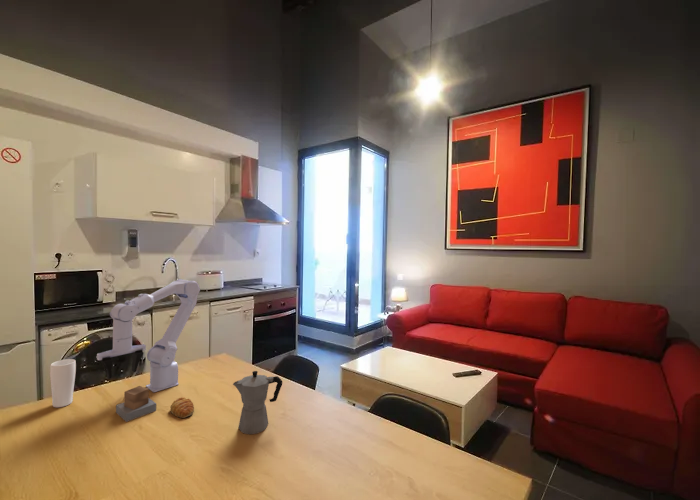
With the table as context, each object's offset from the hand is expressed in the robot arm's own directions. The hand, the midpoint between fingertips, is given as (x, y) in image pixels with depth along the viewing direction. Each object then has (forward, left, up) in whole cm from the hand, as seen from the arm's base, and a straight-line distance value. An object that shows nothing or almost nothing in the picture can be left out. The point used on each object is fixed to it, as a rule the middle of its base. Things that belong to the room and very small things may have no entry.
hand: (122, 374), depth 115 cm
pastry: (-11, +23, -10) cm, 28 cm away
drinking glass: (+14, -12, -10) cm, 21 cm away
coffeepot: (-23, +50, -10) cm, 56 cm away
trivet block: (-1, +12, -10) cm, 16 cm away
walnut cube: (-1, +12, -7) cm, 14 cm away
